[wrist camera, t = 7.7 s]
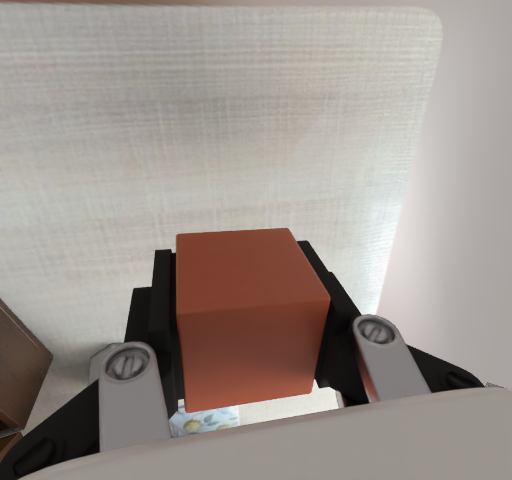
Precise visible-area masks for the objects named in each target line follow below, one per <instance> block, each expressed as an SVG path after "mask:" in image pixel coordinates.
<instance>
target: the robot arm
mask: <svg viewBox="0 0 512 480" xmlns="http://www.w3.org/2000/svg"><path fill="white" fill-rule="evenodd" d="M296 242H297V243H298V245H299V246H300V248H301V250H302V251H303V253H304V255H305V256H306V258H307V260H308V261H309V263H310V264H311V266H312V268H313V269H314V271H315V273H316V274H317V276H318V277H319V279H320V281H321V282H322V284H323V286H324V287H325V289H326V290H327V292H328V294H329V295H330V304H329V309H328V314H327V319H326V322H325V327H324V331H323V336H322V341H321V346H320V351H319V356H318V360H317V365H316V370H315V375H314V379H315V380H316V382H317V385H318V387H319V388H325V387H331V388H333V389H334V390H335V391H336V398H337V403H338V407H339V409H334V410H328V411H323V412H317V413H311V414H305V415H300V416H294V417H288V418H283V419H277V420H271V421H266V422H260V423H254V424H249V425H243V426H237V427H232V428H226V429H221V430H215V431H210V432H204V433H199V434H193V435H188V436H182V437H177V438H172V434H171V429H170V424H169V419H170V418H171V417H172V416H173V415H174V414H175V412H176V411H178V400H179V399H184V388H183V377H182V367H181V356H180V345H179V334H178V329H177V318H176V253H172V251H171V249H166V250H155V258H154V269H153V279H152V287H142V288H134V289H133V293H132V299H131V305H130V311H129V316H128V322H127V328H126V334H125V339H124V343H123V344H120V345H117V346H116V347H114V348H113V349H111V350H110V351H109V352H107V353H106V354H105V355H104V357H103V358H102V360H101V362H100V365H99V370H98V371H99V378H98V379H97V380H96V381H94V382H93V383H92V384H90V385H89V386H88V387H87V388H85V389H84V390H83V391H81V392H80V393H79V394H78V395H76V396H75V397H74V398H73V399H71V400H70V401H69V402H67V403H66V404H65V405H64V406H62V407H61V408H60V409H58V410H57V411H56V412H55V413H53V414H52V415H51V416H49V417H48V418H47V419H46V420H44V421H43V422H42V423H41V424H39V425H38V426H37V427H35V428H34V429H33V430H32V431H30V432H29V433H28V434H26V435H25V436H24V437H23V438H21V439H20V440H19V441H18V442H17V443H16V444H15V445H14V446H12V447H11V448H10V449H9V451H8V452H7V453H6V455H5V456H4V458H3V459H2V461H1V463H0V480H512V389H508V388H503V387H500V386H497V385H494V384H491V383H486V385H485V386H484V385H483V384H482V383H481V382H480V381H479V379H478V378H476V377H475V376H474V375H472V374H471V373H470V372H468V371H466V370H464V369H462V368H460V367H458V366H455V365H453V364H451V363H448V362H446V361H444V360H441V359H439V358H437V357H434V356H432V355H429V354H428V353H425V352H423V351H421V350H418V349H416V348H413V347H411V346H409V345H407V344H405V342H404V340H403V338H402V336H401V334H400V332H399V330H398V329H397V328H396V326H395V325H394V324H392V323H391V322H390V321H388V320H386V319H385V318H383V317H380V316H377V315H370V314H367V315H362V314H361V313H360V312H359V310H358V309H357V307H356V306H355V304H354V303H353V301H352V300H351V298H350V297H349V296H348V294H347V293H346V291H345V290H344V288H343V287H342V285H341V284H340V282H339V281H338V280H337V278H336V277H335V275H334V274H333V273H332V272H328V270H327V269H326V267H325V266H324V264H323V263H322V261H321V260H320V258H319V257H318V255H317V254H316V252H315V251H314V249H313V248H312V246H311V245H310V243H309V242H308V241H296Z"/></svg>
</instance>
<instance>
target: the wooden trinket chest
mask: <svg viewBox="0 0 512 480" xmlns="http://www.w3.org/2000/svg"><path fill="white" fill-rule="evenodd" d="M52 358H53V355H52V354H51V353H50V352H49V351H48V350H47V349H46V348H45V347H44V346H43V345H42V344H41V342H40V341H39V340H38V339H37V338H36V337H35V336H34V335H33V334H32V333H31V332H30V331H29V329H28V328H27V327H26V326H25V325H24V324H23V323H22V322H21V321H20V320H19V319H18V318H17V316H16V315H15V314H14V313H13V312H12V311H11V310H10V309H9V308H8V307H7V306H6V305H5V303H4V302H3V301H2V300H1V299H0V438H1V437H4V436H6V435H9V434H12V433H15V432H18V431H21V430H24V429H25V426H26V424H27V421H28V419H29V416H30V414H31V411H32V409H33V406H34V404H35V401H36V399H37V396H38V394H39V391H40V389H41V386H42V384H43V381H44V379H45V376H46V374H47V371H48V369H49V366H50V364H51V361H52Z"/></svg>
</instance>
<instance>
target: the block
mask: <svg viewBox="0 0 512 480" xmlns="http://www.w3.org/2000/svg"><path fill="white" fill-rule="evenodd" d="M329 304H330V295H329V294H328V292H327V290H326V289H325V287H324V286H323V284H322V282H321V281H320V279H319V277H318V276H317V274H316V273H315V271H314V269H313V268H312V266H311V264H310V263H309V261H308V260H307V258H306V256H305V255H304V253H303V251H302V250H301V248H300V246H299V245H298V243H297V242H296V240H295V238H294V237H293V235H292V233H291V232H290V230H289V229H288V228H276V229H258V230H240V231H221V232H203V233H185V234H177V235H176V318H177V329H178V334H179V345H180V356H181V367H182V377H183V388H184V404H185V411H186V413H192V412H198V411H204V410H210V409H216V408H223V407H229V406H235V405H241V404H247V403H253V402H260V401H266V400H272V399H278V398H284V397H290V396H297V395H303V394H309V393H311V391H312V387H313V382H314V375H315V370H316V365H317V360H318V356H319V351H320V346H321V341H322V336H323V331H324V327H325V322H326V319H327V314H328V309H329Z"/></svg>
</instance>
